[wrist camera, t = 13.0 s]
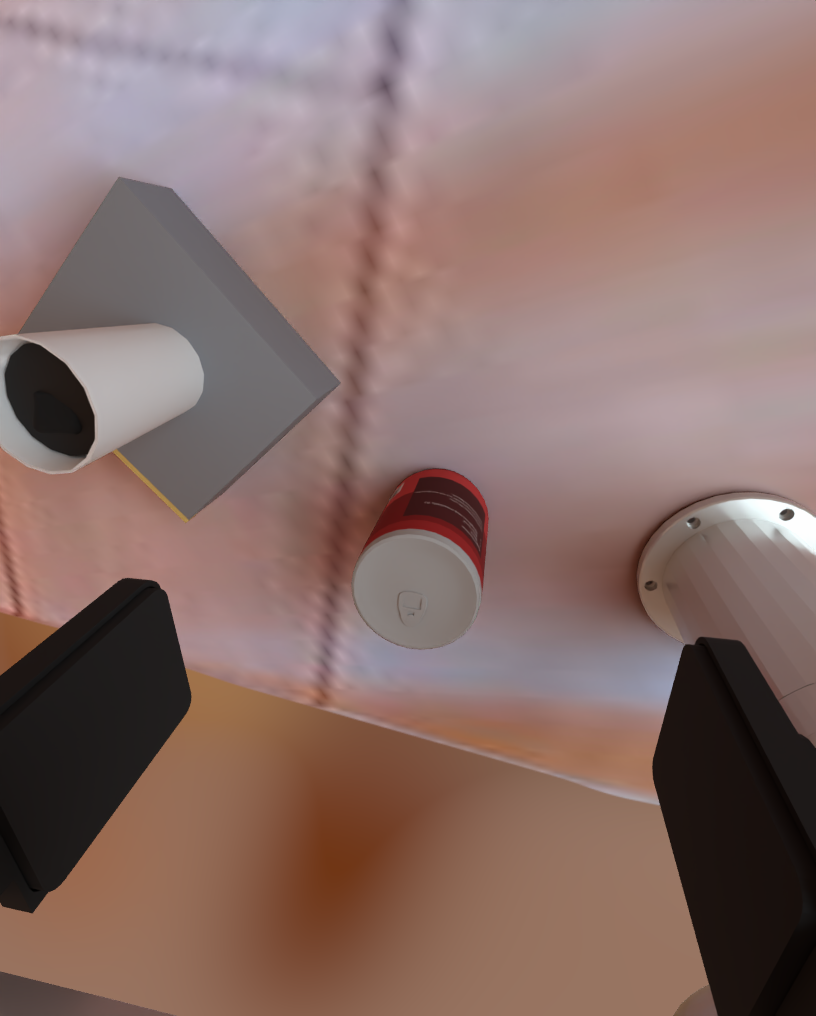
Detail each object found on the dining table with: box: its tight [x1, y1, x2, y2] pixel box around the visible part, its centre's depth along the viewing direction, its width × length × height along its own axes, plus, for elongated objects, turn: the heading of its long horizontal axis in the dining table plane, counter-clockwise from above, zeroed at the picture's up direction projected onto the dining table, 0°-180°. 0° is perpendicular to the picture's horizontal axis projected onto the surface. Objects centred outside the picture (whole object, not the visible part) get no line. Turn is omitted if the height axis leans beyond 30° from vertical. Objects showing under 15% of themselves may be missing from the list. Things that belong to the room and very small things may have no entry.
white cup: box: [0, 323, 204, 474], centre depth 29 cm, size 7×7×10 cm
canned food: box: [351, 469, 489, 649], centre depth 35 cm, size 8×8×11 cm
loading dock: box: [18, 177, 340, 523], centre depth 36 cm, size 16×15×5 cm
